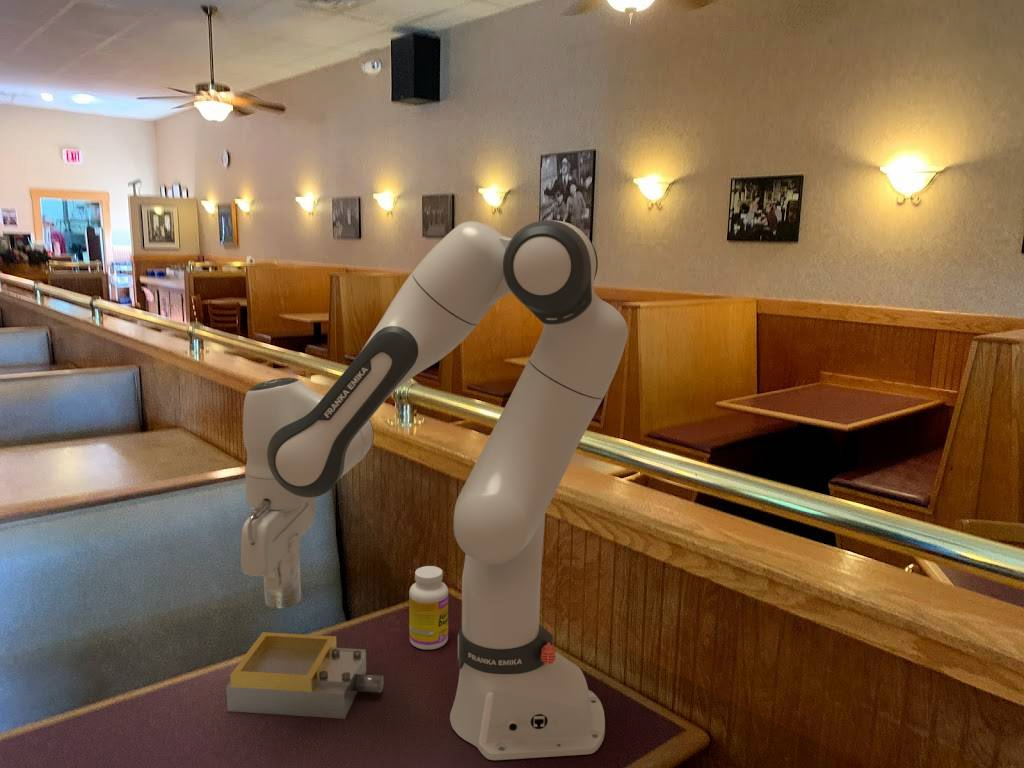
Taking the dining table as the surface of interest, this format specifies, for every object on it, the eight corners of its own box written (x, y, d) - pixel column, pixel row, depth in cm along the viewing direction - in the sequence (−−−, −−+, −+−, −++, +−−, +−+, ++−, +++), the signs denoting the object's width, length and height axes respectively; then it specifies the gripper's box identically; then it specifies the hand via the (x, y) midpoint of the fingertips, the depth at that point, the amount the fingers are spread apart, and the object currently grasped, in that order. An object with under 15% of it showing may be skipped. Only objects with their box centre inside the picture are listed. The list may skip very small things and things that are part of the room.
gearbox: (390, 673, 124) (390, 639, 123) (371, 720, 112) (371, 683, 111) (259, 665, 125) (258, 631, 124) (227, 711, 114) (225, 674, 112)
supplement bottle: (441, 653, 130) (441, 582, 127) (404, 648, 131) (403, 578, 129) (452, 633, 136) (452, 565, 134) (416, 629, 138) (416, 561, 135)
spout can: (305, 592, 118) (303, 527, 116) (293, 609, 113) (290, 541, 111) (258, 590, 119) (255, 525, 117) (244, 606, 114) (240, 538, 112)
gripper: (272, 515, 102) (276, 612, 105) (321, 468, 122) (324, 550, 125) (225, 513, 103) (231, 610, 105) (282, 466, 122) (286, 548, 125)
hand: (282, 577), depth 115 cm, fingers closed on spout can, 5 cm apart
